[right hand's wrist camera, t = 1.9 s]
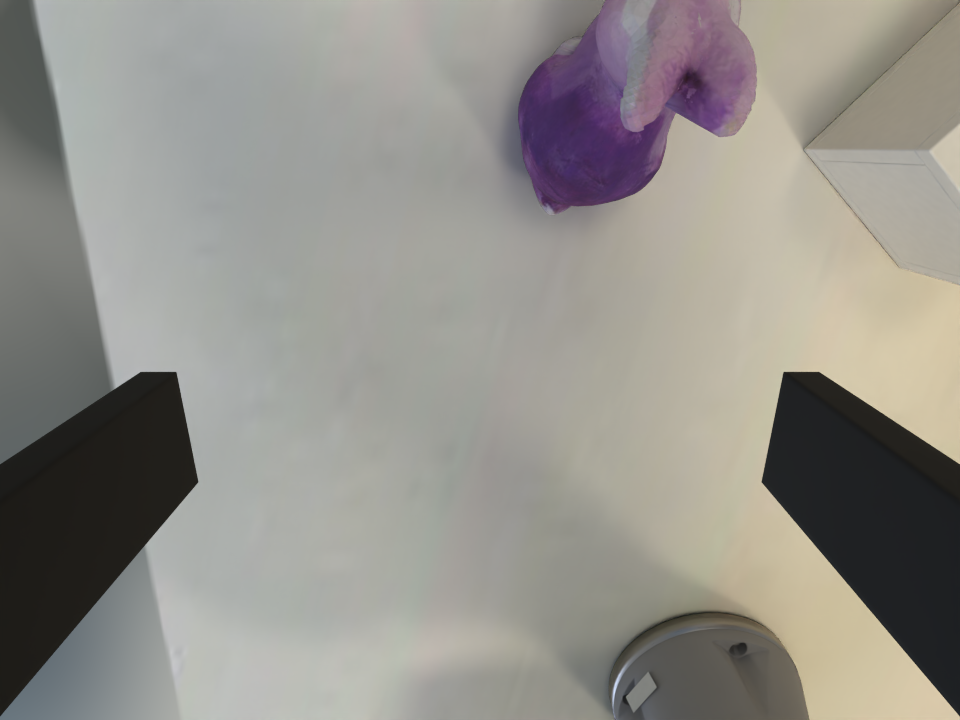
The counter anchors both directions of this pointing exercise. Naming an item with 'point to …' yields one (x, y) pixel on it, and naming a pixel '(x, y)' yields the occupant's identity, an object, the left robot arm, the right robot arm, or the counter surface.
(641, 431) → the counter surface
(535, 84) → the figurine
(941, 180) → the cabinet
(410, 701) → the counter surface
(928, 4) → the counter surface
